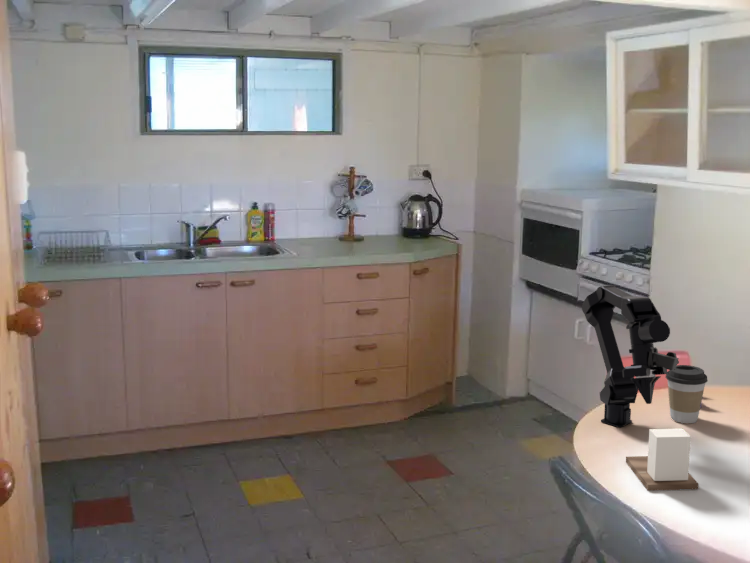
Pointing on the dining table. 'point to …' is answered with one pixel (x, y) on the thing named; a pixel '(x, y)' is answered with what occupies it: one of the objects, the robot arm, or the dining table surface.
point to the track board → (640, 470)
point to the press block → (668, 454)
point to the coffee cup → (685, 392)
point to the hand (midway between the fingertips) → (649, 403)
